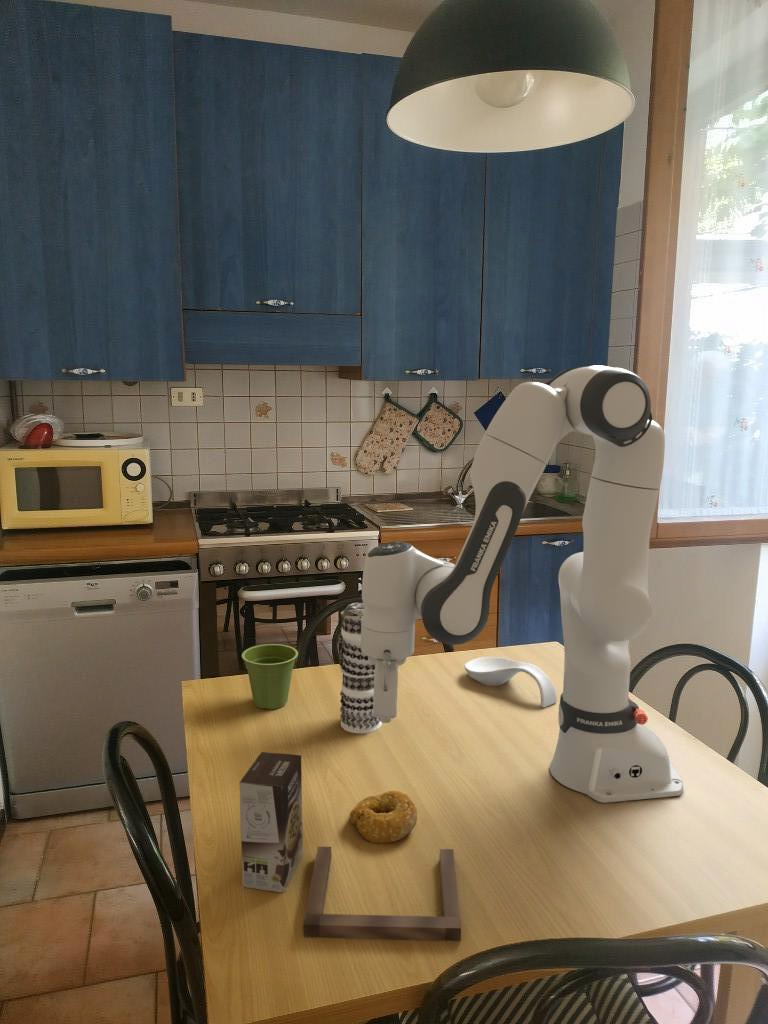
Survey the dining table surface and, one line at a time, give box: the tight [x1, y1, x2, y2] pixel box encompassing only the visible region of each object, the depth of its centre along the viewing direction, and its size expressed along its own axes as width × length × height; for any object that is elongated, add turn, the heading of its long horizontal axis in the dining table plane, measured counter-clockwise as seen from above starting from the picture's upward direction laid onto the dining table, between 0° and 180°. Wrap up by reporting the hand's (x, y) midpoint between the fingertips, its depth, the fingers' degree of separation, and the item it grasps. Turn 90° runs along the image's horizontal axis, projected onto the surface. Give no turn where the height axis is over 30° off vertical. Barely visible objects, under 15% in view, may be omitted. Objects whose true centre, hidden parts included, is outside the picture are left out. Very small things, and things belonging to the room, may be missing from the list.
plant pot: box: [241, 643, 299, 710], centre depth 163 cm, size 12×12×11 cm
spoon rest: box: [464, 656, 558, 709], centre depth 172 cm, size 24×12×7 cm, turn 40°
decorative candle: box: [337, 601, 383, 734], centre depth 153 cm, size 9×9×25 cm
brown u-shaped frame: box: [302, 846, 462, 941], centre depth 105 cm, size 20×16×2 cm
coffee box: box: [239, 751, 304, 894], centre depth 109 cm, size 9×6×16 cm
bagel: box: [349, 790, 418, 844], centre depth 120 cm, size 10×11×5 cm
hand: (385, 718), depth 128 cm, fingers closed
